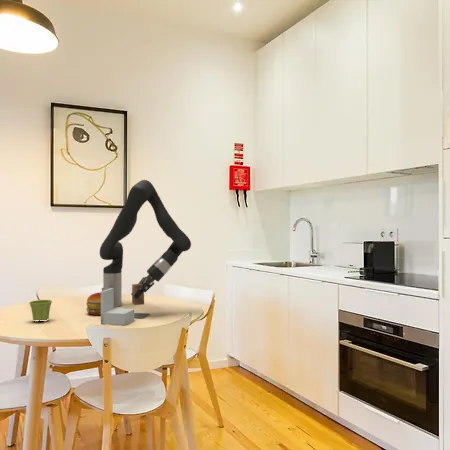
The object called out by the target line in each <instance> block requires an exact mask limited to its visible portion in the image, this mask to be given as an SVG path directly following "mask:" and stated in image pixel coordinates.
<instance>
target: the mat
mask: <svg viewBox="0 0 450 450" xmlns="http://www.w3.org/2000/svg"><path fill="white" fill-rule="evenodd" d="M150 315H151V313H150V312H149V313H147V312H134V319H145V318H147V317H148V316H150Z"/></svg>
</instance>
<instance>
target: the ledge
mask: <svg viewBox="0 0 450 450" xmlns="http://www.w3.org/2000/svg"><path fill="white" fill-rule="evenodd" d="M100 293H101V315H100V325H105V324H111V325H110V326H126V325H128V324H131V323H132V322H133V321H135V318H134V313H135V309H134V308H116V307H115V308H114V288H110V289H107V290H104V291H102V290H101V291H100Z"/></svg>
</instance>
